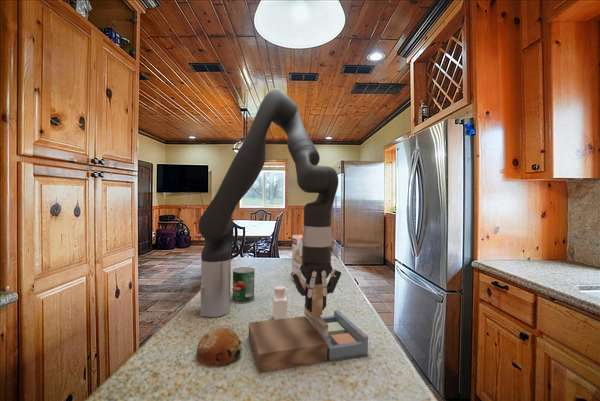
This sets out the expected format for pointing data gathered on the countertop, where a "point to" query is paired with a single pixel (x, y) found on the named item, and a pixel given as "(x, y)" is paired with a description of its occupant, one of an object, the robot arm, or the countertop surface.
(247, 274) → the canned tomato
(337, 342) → the terracotta tile
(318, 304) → the long tan wooden block
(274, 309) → the pepper shaker
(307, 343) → the board
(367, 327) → the countertop surface
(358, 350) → the tray
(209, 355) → the bread roll
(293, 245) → the cracker box
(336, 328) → the sage tile
